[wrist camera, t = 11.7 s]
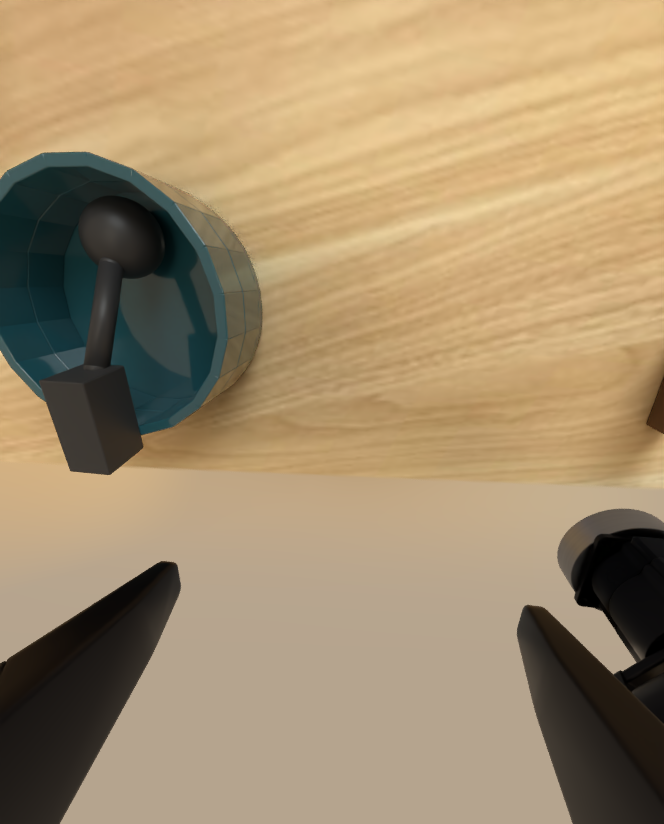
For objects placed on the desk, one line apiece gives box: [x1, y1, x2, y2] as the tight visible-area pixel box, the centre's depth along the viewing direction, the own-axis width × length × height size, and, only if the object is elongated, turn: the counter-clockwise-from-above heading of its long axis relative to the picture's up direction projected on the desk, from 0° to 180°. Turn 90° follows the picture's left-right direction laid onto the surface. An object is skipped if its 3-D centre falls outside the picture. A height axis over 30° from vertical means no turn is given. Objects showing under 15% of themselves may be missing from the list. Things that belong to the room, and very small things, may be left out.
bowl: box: [0, 152, 262, 435], centre depth 18 cm, size 12×12×5 cm
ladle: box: [39, 196, 165, 475], centre depth 17 cm, size 12×4×8 cm, turn 179°
